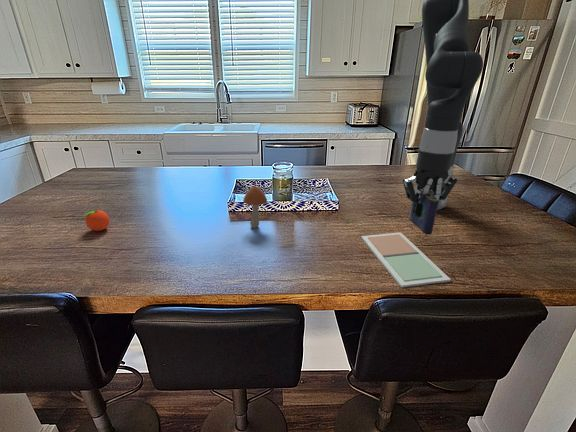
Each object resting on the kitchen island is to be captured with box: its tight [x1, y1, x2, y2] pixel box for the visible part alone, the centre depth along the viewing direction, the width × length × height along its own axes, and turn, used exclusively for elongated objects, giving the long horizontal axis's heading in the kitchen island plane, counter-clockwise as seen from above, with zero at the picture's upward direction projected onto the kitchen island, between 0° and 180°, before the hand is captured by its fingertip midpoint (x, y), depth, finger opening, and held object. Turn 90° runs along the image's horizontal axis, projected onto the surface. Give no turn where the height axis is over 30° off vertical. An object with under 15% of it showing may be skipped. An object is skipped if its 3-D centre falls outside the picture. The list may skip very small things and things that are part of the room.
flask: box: [408, 190, 439, 235], centre depth 80 cm, size 9×3×11 cm, turn 8°
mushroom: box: [242, 185, 268, 229], centre depth 107 cm, size 8×8×15 cm
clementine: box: [81, 209, 111, 232], centre depth 106 cm, size 8×7×7 cm
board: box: [360, 232, 451, 288], centre depth 93 cm, size 14×26×1 cm, turn 11°
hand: (422, 215), depth 81 cm, fingers closed on flask, 3 cm apart
